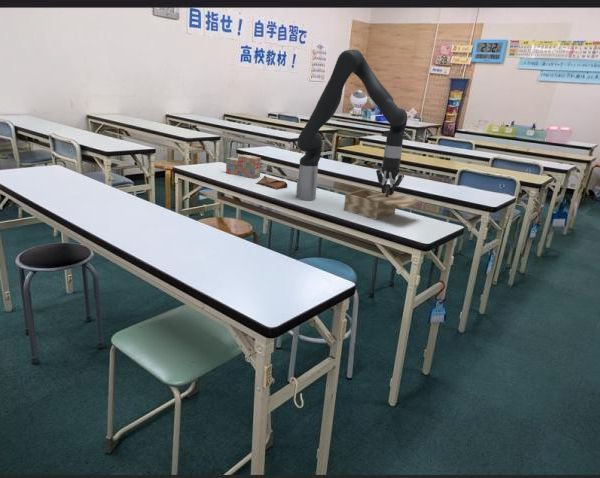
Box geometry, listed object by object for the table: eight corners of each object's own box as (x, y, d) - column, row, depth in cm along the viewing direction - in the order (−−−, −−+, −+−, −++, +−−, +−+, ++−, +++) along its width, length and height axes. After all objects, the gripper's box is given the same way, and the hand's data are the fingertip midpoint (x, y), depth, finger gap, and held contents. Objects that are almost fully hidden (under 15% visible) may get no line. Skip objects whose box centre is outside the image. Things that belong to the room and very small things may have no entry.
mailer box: (343, 210, 208) (345, 193, 205) (363, 204, 219) (365, 189, 216) (375, 219, 196) (377, 202, 193) (394, 213, 207) (396, 197, 205)
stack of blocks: (225, 173, 267) (225, 153, 263) (232, 172, 273) (232, 152, 268) (254, 179, 258) (254, 158, 253) (260, 177, 263) (261, 157, 259)
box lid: (366, 198, 197) (368, 184, 195) (386, 193, 208) (388, 179, 206) (402, 208, 185) (405, 193, 183) (421, 202, 197) (424, 188, 194)
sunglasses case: (253, 183, 247) (258, 172, 248) (261, 188, 253) (265, 177, 253) (277, 189, 237) (282, 178, 237) (284, 194, 242) (289, 183, 243)
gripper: (374, 154, 194) (369, 191, 200) (401, 159, 185) (396, 198, 191) (383, 152, 200) (378, 189, 206) (410, 157, 191) (405, 196, 197)
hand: (387, 193), depth 198 cm, fingers closed on box lid, 3 cm apart
